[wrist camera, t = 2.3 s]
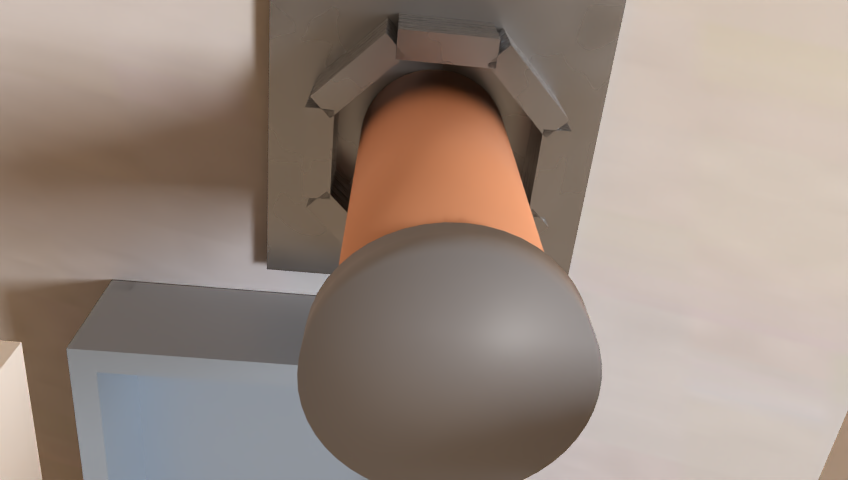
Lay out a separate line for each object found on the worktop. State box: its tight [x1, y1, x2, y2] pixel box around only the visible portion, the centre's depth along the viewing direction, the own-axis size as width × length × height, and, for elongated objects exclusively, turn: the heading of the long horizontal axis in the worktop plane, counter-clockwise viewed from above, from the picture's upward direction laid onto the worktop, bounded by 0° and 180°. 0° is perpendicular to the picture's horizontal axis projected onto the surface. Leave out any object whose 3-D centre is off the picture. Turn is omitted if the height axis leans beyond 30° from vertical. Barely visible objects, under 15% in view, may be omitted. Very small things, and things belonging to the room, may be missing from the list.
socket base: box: [267, 0, 626, 275], centre depth 24 cm, size 10×10×2 cm
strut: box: [297, 69, 602, 480], centre depth 19 cm, size 5×5×12 cm
